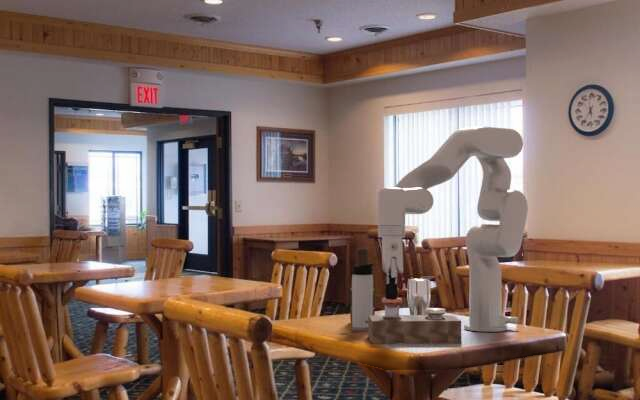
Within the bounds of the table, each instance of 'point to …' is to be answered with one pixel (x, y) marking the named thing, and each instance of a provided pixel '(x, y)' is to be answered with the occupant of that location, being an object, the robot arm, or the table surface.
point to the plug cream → (435, 313)
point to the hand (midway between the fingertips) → (391, 298)
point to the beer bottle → (361, 260)
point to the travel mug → (362, 296)
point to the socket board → (414, 329)
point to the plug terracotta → (392, 308)
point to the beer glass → (418, 296)
